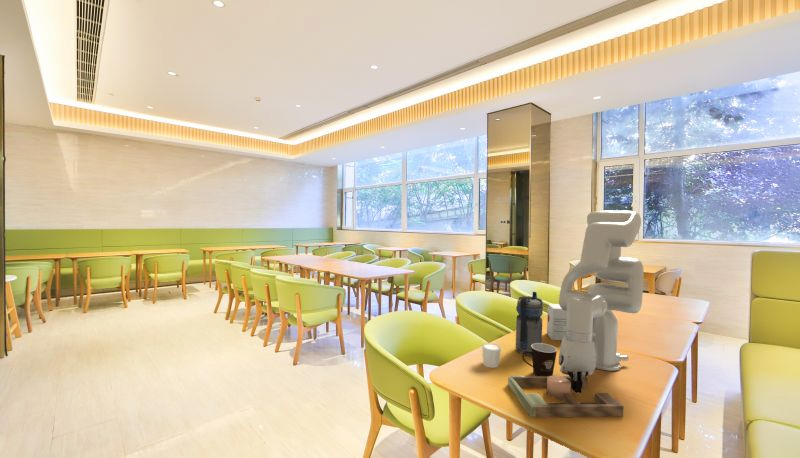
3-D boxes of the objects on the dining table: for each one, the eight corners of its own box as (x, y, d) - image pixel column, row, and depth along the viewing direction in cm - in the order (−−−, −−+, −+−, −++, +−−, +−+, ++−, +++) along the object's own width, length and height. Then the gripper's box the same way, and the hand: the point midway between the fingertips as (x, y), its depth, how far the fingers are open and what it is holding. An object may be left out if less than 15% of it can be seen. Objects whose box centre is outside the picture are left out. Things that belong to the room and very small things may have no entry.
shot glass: (500, 369, 128) (501, 351, 128) (482, 367, 129) (482, 349, 129) (499, 361, 135) (500, 344, 134) (481, 359, 136) (482, 342, 136)
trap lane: (585, 384, 118) (586, 375, 117) (623, 416, 99) (623, 405, 99) (507, 385, 116) (508, 375, 116) (531, 417, 98) (531, 406, 98)
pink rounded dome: (563, 388, 114) (563, 375, 114) (574, 400, 107) (575, 386, 107) (542, 388, 114) (543, 375, 114) (553, 400, 107) (553, 386, 107)
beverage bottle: (508, 353, 143) (510, 294, 141) (522, 345, 152) (524, 289, 151) (532, 361, 136) (535, 298, 134) (545, 351, 145) (547, 293, 144)
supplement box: (546, 333, 168) (547, 303, 167) (565, 334, 167) (566, 304, 166) (551, 340, 159) (552, 308, 158) (572, 341, 158) (573, 309, 157)
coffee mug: (554, 371, 127) (555, 345, 126) (557, 382, 119) (558, 354, 118) (521, 366, 131) (522, 340, 130) (521, 376, 123) (522, 349, 122)
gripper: (593, 331, 114) (591, 385, 115) (550, 331, 113) (548, 385, 114) (608, 339, 107) (606, 397, 108) (562, 339, 106) (559, 397, 107)
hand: (576, 390), depth 111 cm, fingers closed
